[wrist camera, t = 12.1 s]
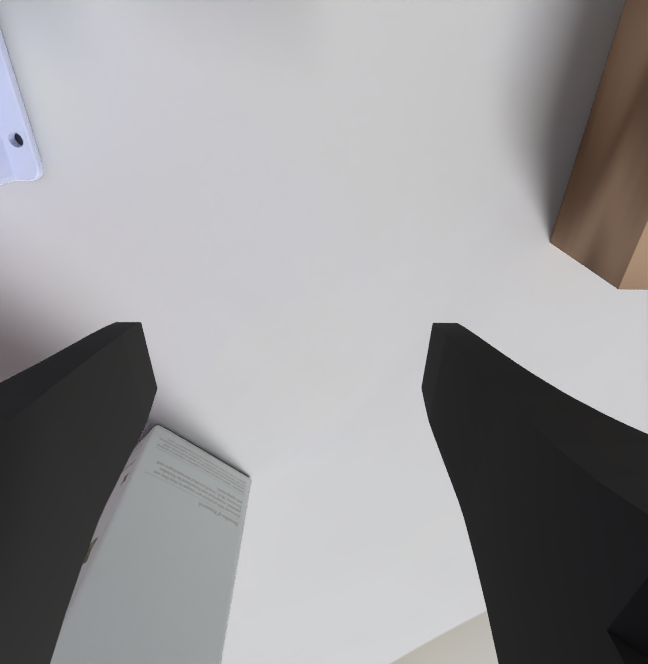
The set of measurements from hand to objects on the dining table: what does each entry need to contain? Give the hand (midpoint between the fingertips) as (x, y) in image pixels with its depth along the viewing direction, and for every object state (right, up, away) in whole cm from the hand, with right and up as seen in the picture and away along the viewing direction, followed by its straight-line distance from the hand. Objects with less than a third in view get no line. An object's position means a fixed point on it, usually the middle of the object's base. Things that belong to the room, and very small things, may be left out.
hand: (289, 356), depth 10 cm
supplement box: (-9, -9, +16) cm, 21 cm away
